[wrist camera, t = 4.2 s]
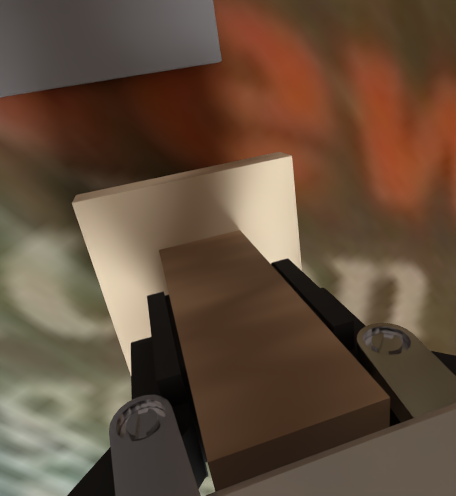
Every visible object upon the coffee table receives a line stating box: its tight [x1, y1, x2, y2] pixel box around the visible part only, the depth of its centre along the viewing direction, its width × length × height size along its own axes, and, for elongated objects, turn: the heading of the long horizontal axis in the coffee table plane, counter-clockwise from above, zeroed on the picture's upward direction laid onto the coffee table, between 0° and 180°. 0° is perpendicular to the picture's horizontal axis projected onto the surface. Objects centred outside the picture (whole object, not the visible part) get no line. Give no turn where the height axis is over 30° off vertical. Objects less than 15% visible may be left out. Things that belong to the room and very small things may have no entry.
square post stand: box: [72, 152, 390, 491], centre depth 11 cm, size 8×8×10 cm
